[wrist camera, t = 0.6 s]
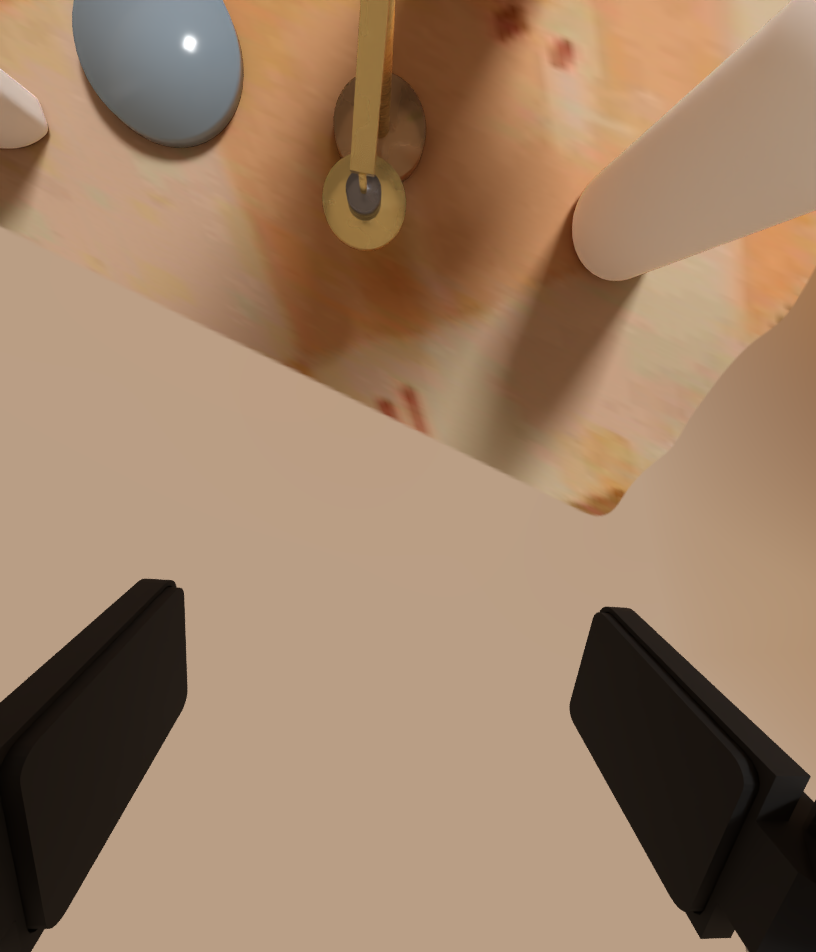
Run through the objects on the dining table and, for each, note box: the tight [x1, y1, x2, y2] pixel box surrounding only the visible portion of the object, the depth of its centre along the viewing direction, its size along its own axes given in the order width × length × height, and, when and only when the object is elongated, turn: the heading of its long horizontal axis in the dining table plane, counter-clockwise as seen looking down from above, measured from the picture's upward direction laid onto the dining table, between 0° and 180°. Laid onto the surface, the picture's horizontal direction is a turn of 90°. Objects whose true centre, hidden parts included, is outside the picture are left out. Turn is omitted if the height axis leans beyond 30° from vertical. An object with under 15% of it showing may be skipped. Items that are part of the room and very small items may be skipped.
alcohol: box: [572, 0, 816, 281], centre depth 19 cm, size 9×9×30 cm
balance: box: [322, 0, 426, 251], centre depth 22 cm, size 21×7×18 cm, turn 172°
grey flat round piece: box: [72, 0, 244, 148], centre depth 28 cm, size 11×11×1 cm
